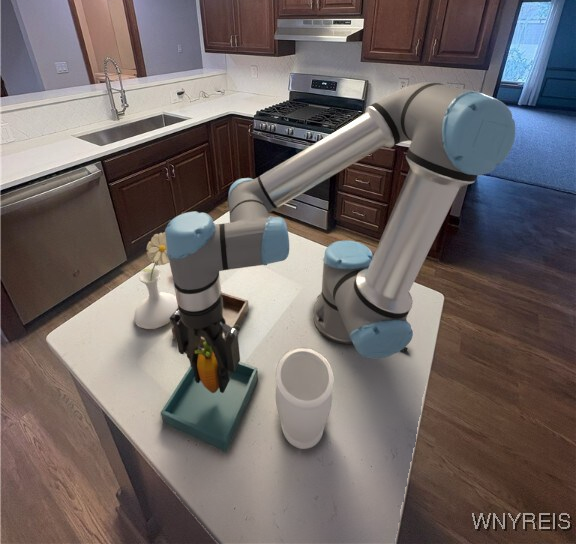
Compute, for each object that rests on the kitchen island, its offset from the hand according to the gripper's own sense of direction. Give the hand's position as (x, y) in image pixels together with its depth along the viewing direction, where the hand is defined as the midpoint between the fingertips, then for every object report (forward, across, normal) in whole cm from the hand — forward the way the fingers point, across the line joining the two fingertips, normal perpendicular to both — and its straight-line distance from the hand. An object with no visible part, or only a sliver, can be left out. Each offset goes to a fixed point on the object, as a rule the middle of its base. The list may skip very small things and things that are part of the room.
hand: (212, 380), depth 64 cm
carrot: (+4, 0, 0) cm, 4 cm away
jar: (+6, -19, -2) cm, 20 cm away
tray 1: (+6, +10, -16) cm, 20 cm away
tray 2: (+6, 0, 0) cm, 6 cm away
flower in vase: (+6, +25, -14) cm, 29 cm away
